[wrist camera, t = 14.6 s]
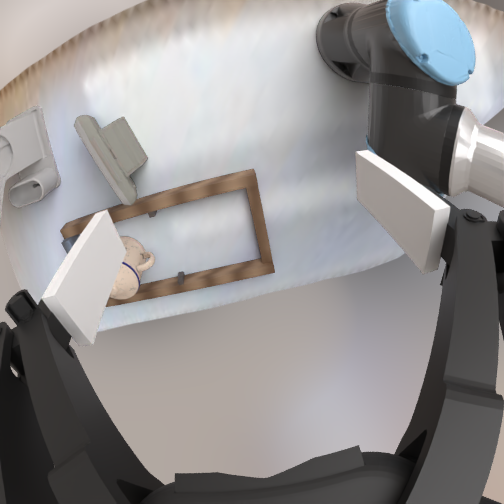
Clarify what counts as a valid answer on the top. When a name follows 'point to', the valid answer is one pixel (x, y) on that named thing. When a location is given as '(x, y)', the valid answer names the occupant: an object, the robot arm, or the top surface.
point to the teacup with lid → (131, 269)
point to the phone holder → (27, 159)
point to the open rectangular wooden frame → (180, 196)
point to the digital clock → (113, 153)
